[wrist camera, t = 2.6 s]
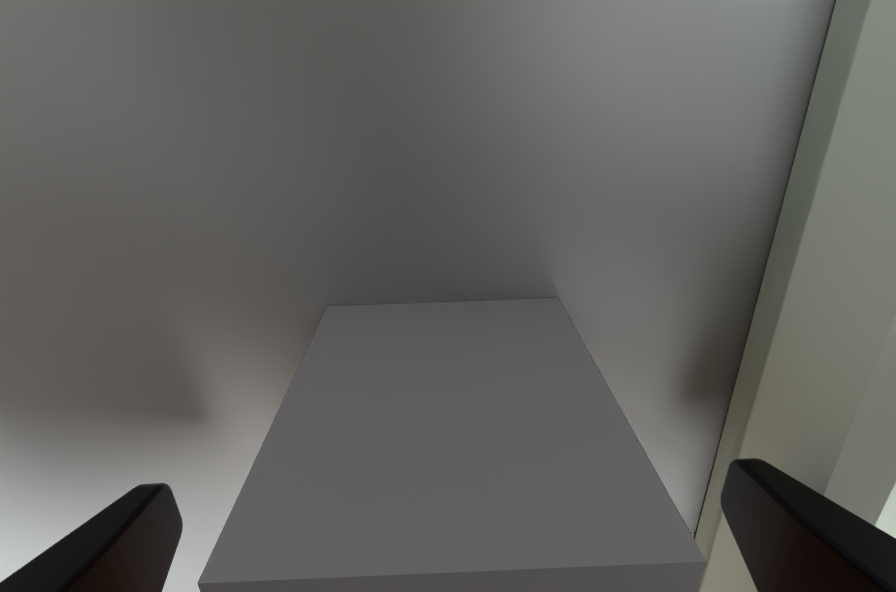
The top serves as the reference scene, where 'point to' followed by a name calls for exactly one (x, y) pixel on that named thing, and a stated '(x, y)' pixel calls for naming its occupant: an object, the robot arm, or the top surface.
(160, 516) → the robot arm
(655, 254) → the top surface
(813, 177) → the tray
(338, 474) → the orange rectangular block
